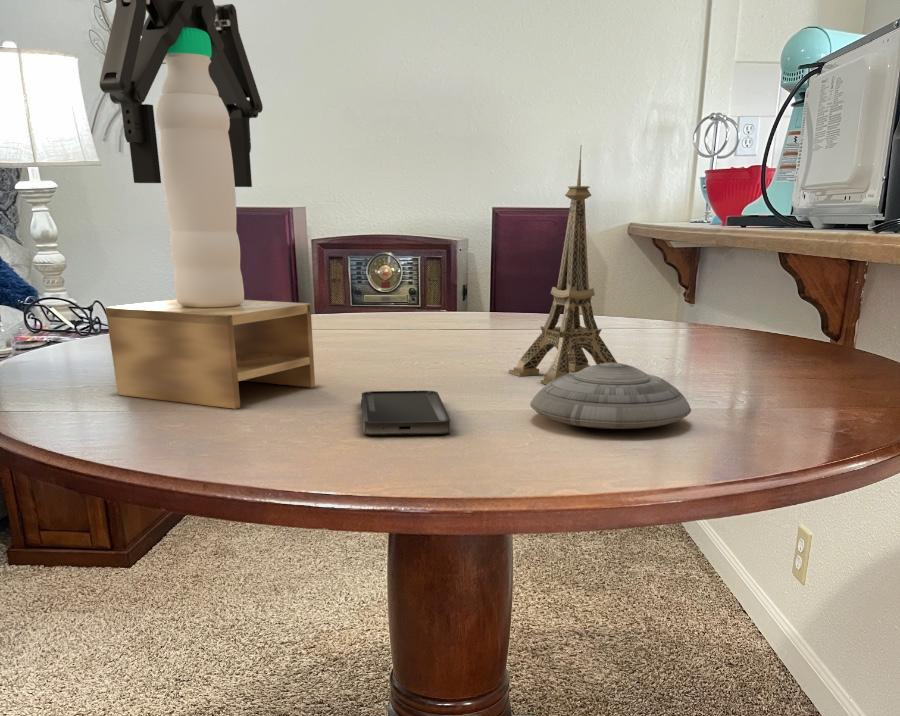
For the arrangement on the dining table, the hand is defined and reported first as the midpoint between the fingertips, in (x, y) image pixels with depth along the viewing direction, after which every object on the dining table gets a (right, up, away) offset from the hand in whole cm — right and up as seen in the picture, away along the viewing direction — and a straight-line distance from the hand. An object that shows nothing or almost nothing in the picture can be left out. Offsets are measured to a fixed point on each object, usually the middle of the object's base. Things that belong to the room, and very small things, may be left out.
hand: (196, 185), depth 90 cm
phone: (+21, -25, -5) cm, 33 cm away
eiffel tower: (+40, -15, +18) cm, 46 cm away
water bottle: (0, -11, +5) cm, 12 cm away
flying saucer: (+41, -25, -5) cm, 48 cm away
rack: (0, -19, +8) cm, 21 cm away
